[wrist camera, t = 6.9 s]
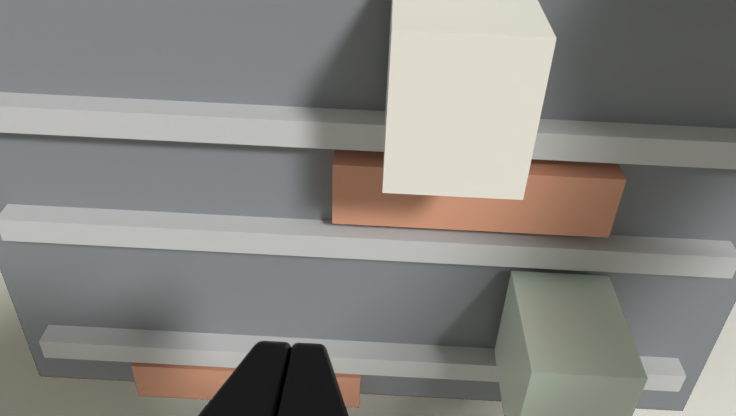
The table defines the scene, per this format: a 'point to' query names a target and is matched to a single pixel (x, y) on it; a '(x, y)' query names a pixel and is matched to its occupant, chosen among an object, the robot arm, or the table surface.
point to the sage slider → (566, 348)
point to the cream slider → (464, 96)
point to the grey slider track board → (347, 193)
